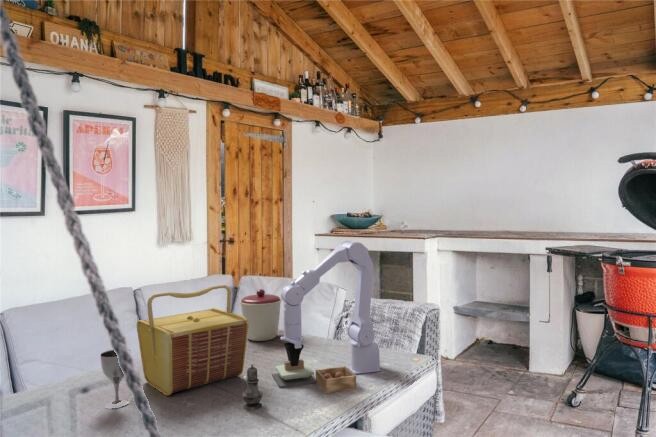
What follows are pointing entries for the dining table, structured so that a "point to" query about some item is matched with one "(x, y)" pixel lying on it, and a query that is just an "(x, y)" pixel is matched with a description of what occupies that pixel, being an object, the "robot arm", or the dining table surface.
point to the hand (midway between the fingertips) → (293, 364)
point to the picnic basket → (192, 345)
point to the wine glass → (112, 370)
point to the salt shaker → (252, 390)
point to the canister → (261, 315)
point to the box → (335, 379)
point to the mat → (293, 381)
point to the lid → (294, 370)
